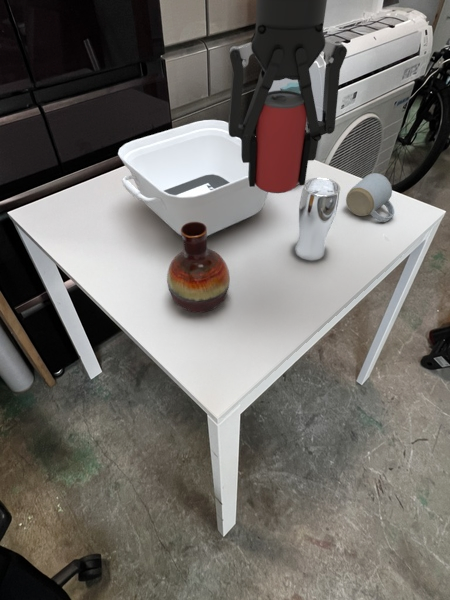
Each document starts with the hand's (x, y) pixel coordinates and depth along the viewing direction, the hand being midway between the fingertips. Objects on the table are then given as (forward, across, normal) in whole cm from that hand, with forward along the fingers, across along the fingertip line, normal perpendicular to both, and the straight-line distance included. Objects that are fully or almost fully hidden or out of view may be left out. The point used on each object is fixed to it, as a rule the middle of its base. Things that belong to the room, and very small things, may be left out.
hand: (275, 180), depth 55 cm
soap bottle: (+22, +9, +40) cm, 47 cm away
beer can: (+1, 0, 0) cm, 1 cm away
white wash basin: (+22, -12, +26) cm, 36 cm away
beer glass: (+22, +10, +10) cm, 26 cm away
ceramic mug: (+22, +27, +24) cm, 42 cm away
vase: (+22, -13, -2) cm, 26 cm away
